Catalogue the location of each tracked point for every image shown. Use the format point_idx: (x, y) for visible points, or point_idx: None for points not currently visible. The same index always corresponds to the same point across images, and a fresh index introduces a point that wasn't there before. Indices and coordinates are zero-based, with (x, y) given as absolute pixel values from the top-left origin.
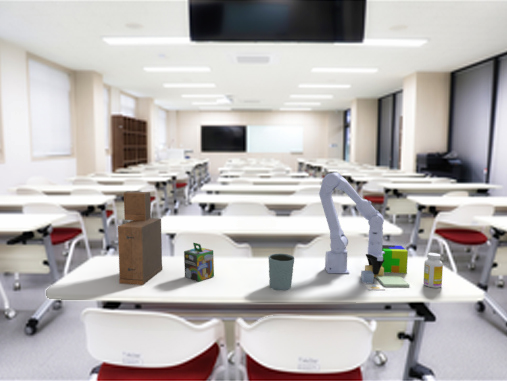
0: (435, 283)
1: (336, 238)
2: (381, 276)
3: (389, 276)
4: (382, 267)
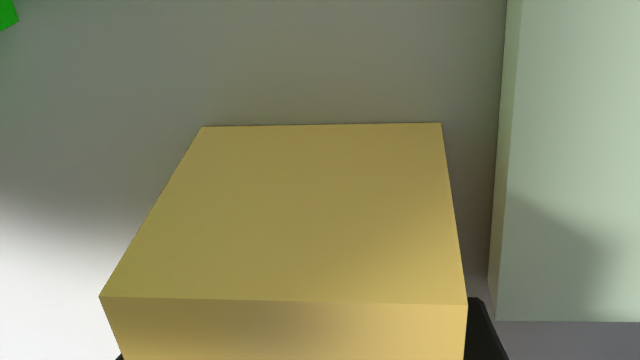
0: None
1: None
2: (561, 235)
3: (583, 18)
4: (353, 321)
